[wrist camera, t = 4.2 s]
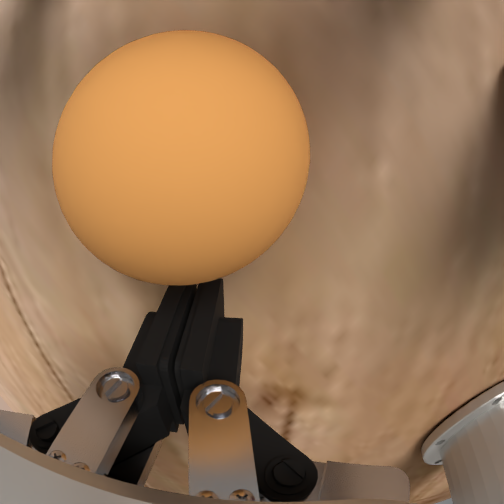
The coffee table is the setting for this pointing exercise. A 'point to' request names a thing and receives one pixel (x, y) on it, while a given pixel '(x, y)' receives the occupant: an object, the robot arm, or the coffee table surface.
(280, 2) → the coffee table surface
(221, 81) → the ball
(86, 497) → the robot arm
